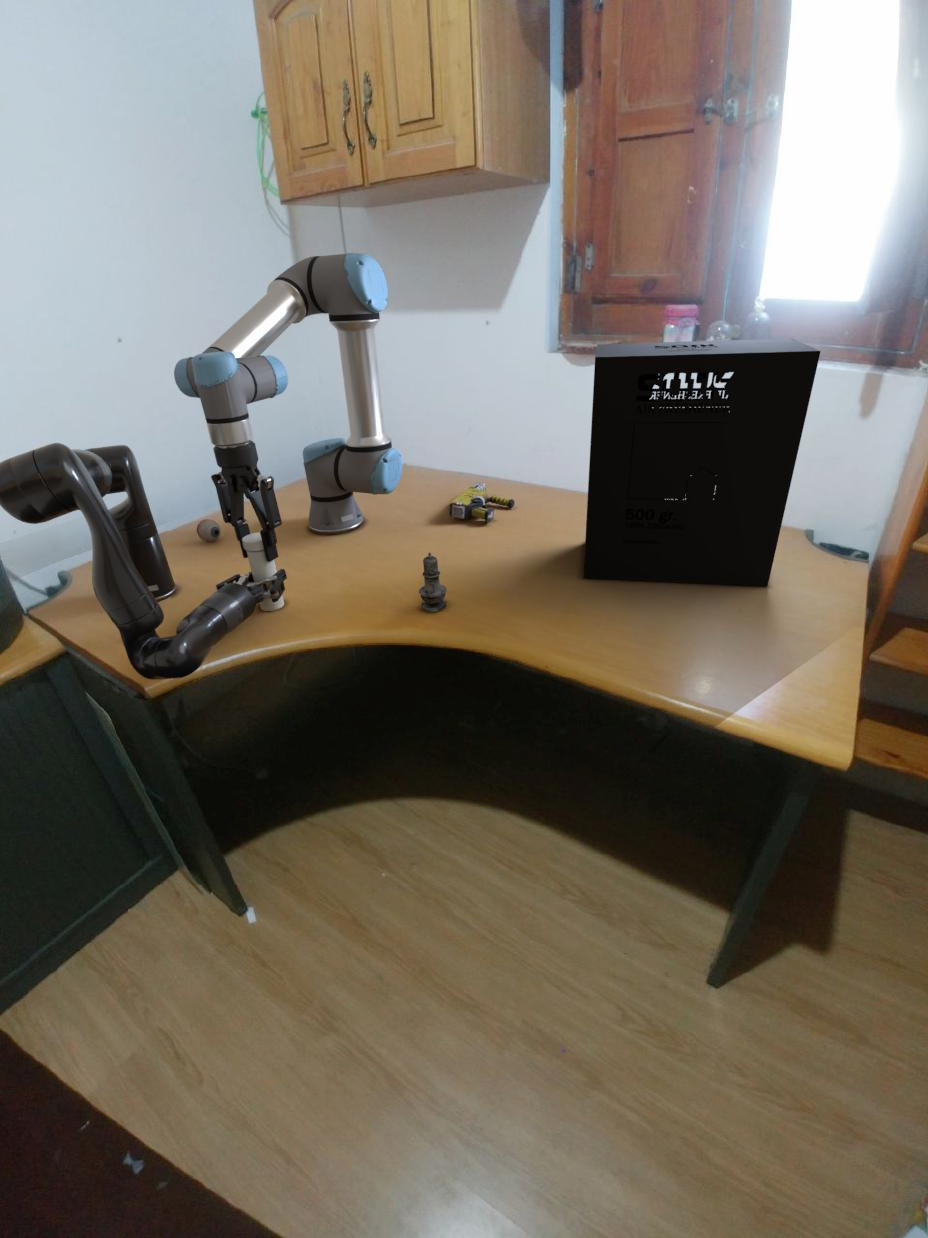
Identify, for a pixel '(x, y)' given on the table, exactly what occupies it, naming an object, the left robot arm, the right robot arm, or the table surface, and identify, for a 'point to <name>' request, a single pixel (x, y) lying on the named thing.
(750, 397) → the cardboard box
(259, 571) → the jar
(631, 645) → the table surface
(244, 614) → the left robot arm
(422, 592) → the dark grey chess piece
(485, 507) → the toy gun
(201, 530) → the eyeball
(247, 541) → the lid
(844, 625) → the table surface
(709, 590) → the table surface
